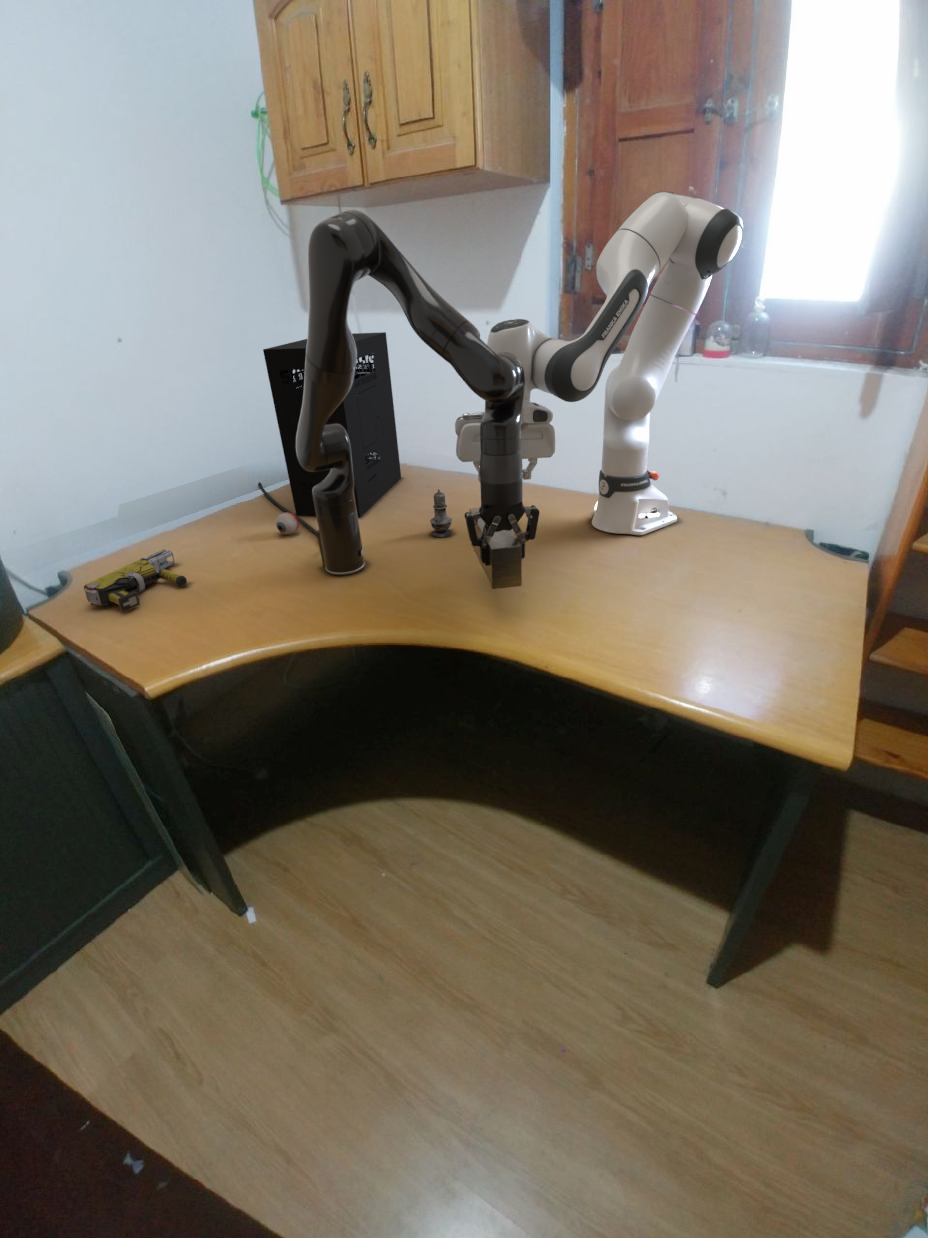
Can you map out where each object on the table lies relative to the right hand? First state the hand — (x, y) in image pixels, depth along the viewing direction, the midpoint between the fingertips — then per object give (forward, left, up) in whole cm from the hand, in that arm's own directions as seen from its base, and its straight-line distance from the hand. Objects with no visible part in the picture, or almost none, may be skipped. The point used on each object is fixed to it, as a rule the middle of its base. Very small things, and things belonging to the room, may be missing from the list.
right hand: (504, 480), depth 126 cm
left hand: (+9, +16, -10) cm, 21 cm away
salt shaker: (+3, -30, -22) cm, 37 cm away
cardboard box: (+15, -75, -22) cm, 80 cm away
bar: (+7, +8, -14) cm, 18 cm away
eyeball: (+39, -52, -22) cm, 69 cm away
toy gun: (+74, -35, -22) cm, 85 cm away
